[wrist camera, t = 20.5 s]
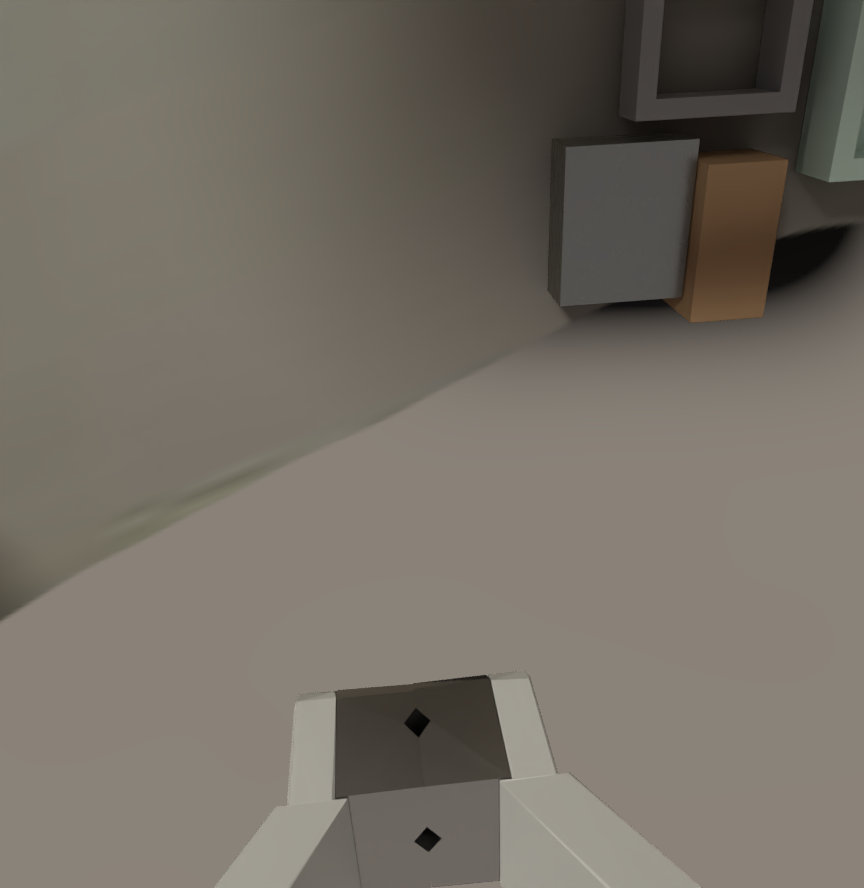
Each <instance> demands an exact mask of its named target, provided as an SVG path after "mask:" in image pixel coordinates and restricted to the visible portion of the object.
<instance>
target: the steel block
mask: <svg viewBox="0 0 864 888" xmlns="http://www.w3.org/2000/svg"><path fill="white" fill-rule="evenodd" d="M699 142H700V139H699V138H695V137H692V136H689V135H686V134H683V133H680V132H667V133H650V134H634V135H617V136H600V137H584V138H567V139H552V147H551V183H550V220H549V256H548V291H549V293H550V294H551V295H552V297H553V298H554V299H555V300H556V302H557V303H558V304H559V306H573V305H586V304H599V303H613V302H625V301H639V300H652V299H665V298H679V297H682V292H683V283H684V274H685V266H686V257H687V248H688V239H689V230H690V222H691V213H692V204H693V195H694V186H695V178H696V169H697V160H698V151H699Z"/></svg>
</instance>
